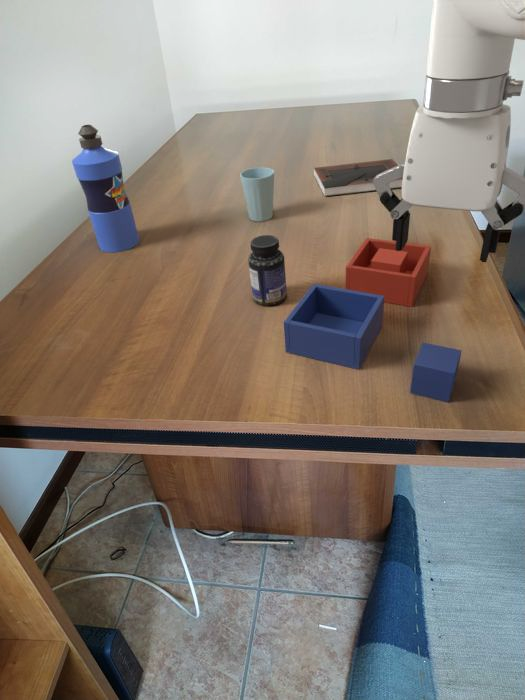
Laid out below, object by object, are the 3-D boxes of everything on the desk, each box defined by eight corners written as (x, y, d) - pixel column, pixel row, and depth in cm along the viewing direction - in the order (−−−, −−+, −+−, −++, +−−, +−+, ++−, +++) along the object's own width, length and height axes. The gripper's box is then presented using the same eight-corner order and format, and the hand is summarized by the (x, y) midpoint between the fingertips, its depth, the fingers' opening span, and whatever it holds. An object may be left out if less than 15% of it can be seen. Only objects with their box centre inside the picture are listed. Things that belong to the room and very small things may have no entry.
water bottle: (147, 235, 115) (119, 119, 99) (125, 254, 108) (92, 132, 93) (113, 233, 118) (81, 119, 102) (90, 250, 111) (51, 132, 96)
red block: (405, 277, 89) (407, 251, 86) (397, 290, 86) (400, 265, 83) (377, 272, 91) (379, 248, 88) (369, 286, 88) (371, 260, 85)
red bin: (427, 274, 90) (431, 245, 87) (412, 307, 82) (415, 277, 79) (365, 264, 95) (366, 237, 92) (345, 295, 87) (345, 266, 84)
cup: (283, 218, 116) (280, 173, 109) (252, 226, 114) (247, 181, 107) (269, 208, 121) (265, 165, 115) (240, 215, 119) (235, 172, 113)
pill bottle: (290, 290, 90) (287, 233, 83) (282, 308, 85) (278, 250, 79) (257, 288, 92) (252, 232, 85) (248, 305, 87) (241, 248, 80)
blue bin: (382, 326, 79) (384, 295, 75) (359, 369, 71) (360, 338, 68) (314, 312, 84) (313, 283, 80) (285, 352, 76) (283, 321, 72)
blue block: (455, 379, 68) (461, 350, 65) (448, 402, 64) (454, 373, 61) (418, 370, 70) (422, 342, 67) (409, 393, 66) (413, 364, 63)
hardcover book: (324, 197, 124) (410, 187, 124) (324, 187, 123) (411, 177, 123) (314, 176, 137) (391, 167, 137) (313, 166, 136) (392, 158, 136)
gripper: (564, 85, 48) (524, 247, 59) (388, 86, 55) (380, 230, 66) (560, 103, 43) (517, 277, 53) (366, 102, 50) (361, 255, 61)
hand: (441, 251), depth 60 cm, fingers open, 9 cm apart
